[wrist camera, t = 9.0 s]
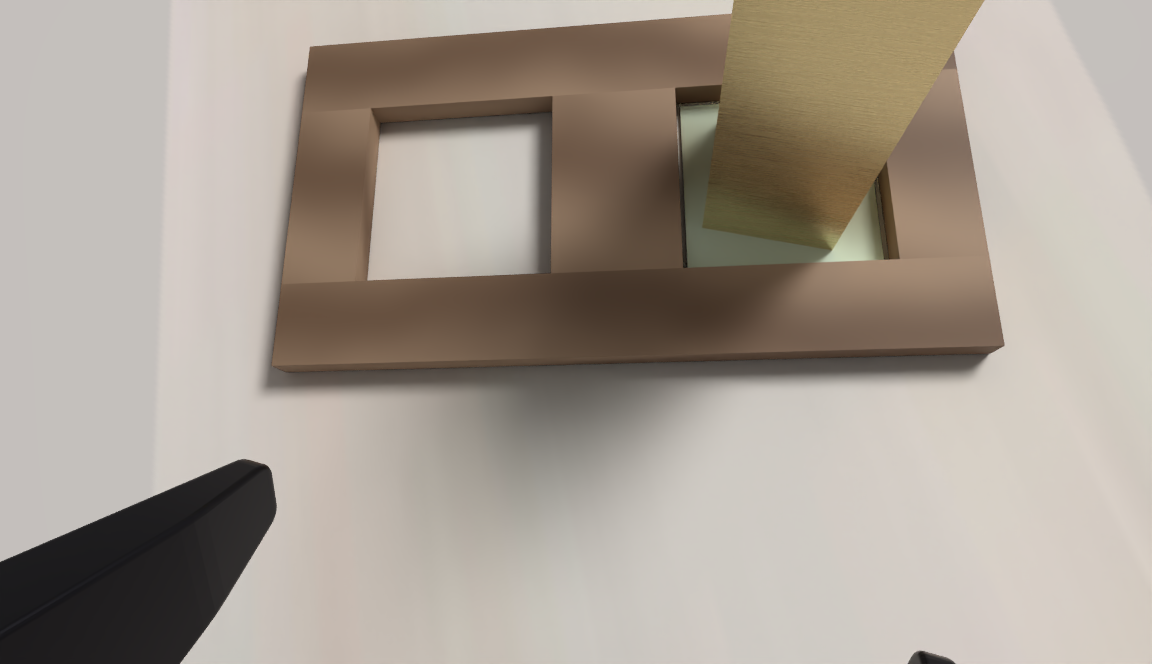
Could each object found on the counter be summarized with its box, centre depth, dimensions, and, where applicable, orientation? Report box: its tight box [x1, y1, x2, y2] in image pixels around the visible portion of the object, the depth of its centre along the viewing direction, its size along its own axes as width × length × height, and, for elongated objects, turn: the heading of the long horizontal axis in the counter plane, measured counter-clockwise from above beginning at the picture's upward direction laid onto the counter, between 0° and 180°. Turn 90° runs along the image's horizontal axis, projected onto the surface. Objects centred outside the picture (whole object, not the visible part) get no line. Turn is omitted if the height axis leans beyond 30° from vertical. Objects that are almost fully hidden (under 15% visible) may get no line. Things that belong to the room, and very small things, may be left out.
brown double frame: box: [272, 14, 1005, 372], centre depth 26 cm, size 13×24×1 cm, turn 90°
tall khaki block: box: [702, 0, 984, 250], centre depth 20 cm, size 4×4×12 cm
